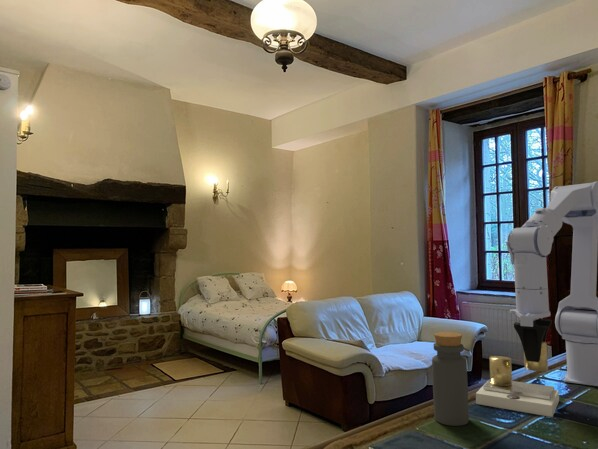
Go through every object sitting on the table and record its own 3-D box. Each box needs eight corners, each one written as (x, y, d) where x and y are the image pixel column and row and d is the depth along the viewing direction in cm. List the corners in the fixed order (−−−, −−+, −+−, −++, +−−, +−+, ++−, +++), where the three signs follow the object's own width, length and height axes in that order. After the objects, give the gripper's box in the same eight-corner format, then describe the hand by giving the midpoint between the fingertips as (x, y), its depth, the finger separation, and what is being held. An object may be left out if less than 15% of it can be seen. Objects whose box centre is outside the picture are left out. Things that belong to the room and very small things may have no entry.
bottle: (468, 415, 81) (464, 331, 82) (469, 427, 76) (465, 338, 77) (434, 412, 83) (431, 330, 84) (433, 424, 78) (430, 336, 79)
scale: (488, 389, 95) (488, 379, 95) (559, 400, 88) (558, 389, 88) (476, 403, 87) (475, 392, 87) (552, 417, 80) (551, 404, 80)
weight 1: (492, 379, 94) (491, 355, 94) (513, 382, 91) (512, 357, 92) (488, 384, 90) (487, 358, 91) (510, 387, 88) (509, 361, 88)
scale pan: (491, 380, 95) (491, 378, 95) (554, 389, 88) (554, 386, 88) (483, 389, 89) (483, 386, 89) (549, 399, 83) (549, 396, 83)
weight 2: (548, 366, 88) (546, 340, 88) (547, 372, 84) (546, 345, 85) (525, 364, 90) (523, 339, 90) (524, 369, 86) (522, 343, 87)
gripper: (516, 284, 96) (519, 349, 95) (501, 290, 84) (504, 364, 84) (553, 285, 92) (557, 352, 91) (543, 292, 80) (547, 369, 80)
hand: (534, 358), depth 87 cm, fingers closed on weight 2, 4 cm apart
